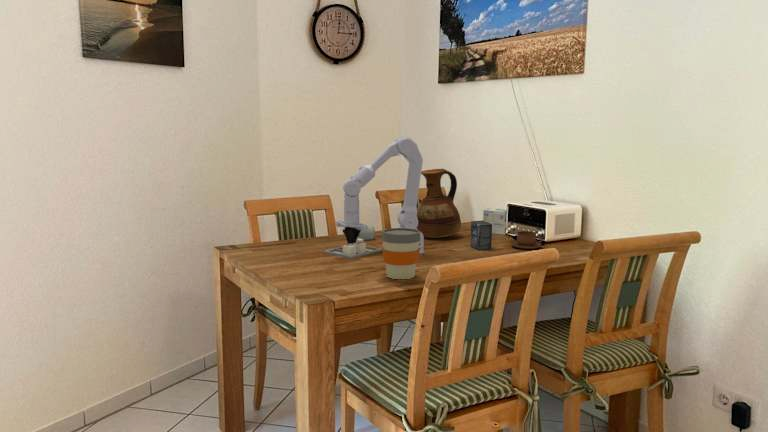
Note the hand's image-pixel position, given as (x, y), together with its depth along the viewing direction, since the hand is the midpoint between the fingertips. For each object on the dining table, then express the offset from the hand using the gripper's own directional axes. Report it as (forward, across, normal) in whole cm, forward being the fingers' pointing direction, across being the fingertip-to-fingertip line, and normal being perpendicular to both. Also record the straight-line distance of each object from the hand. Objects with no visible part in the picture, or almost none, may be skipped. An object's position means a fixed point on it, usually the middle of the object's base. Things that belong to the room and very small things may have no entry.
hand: (351, 247), depth 226 cm
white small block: (+2, -2, +6) cm, 6 cm away
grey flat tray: (+3, +1, 0) cm, 3 cm away
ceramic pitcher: (+3, +4, +51) cm, 51 cm away
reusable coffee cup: (+3, +34, -14) cm, 37 cm away
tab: (+2, +4, -6) cm, 7 cm away
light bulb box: (+3, +20, +76) cm, 79 cm away
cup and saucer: (+3, +44, +55) cm, 71 cm away
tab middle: (+2, +4, 0) cm, 4 cm away
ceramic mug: (+3, -14, +22) cm, 26 cm away
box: (+3, +32, +42) cm, 52 cm away
